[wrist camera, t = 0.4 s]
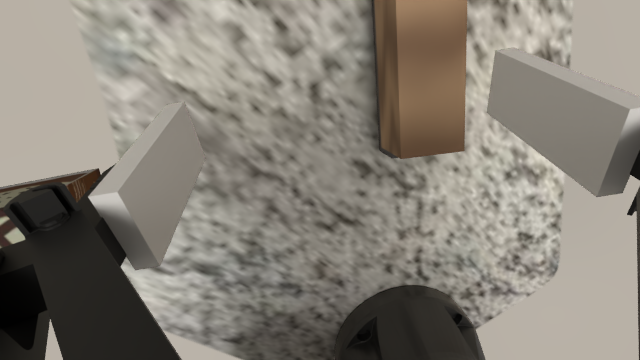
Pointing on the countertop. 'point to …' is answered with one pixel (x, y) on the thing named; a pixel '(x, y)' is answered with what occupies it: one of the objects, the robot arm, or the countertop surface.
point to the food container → (3, 229)
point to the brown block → (421, 75)
